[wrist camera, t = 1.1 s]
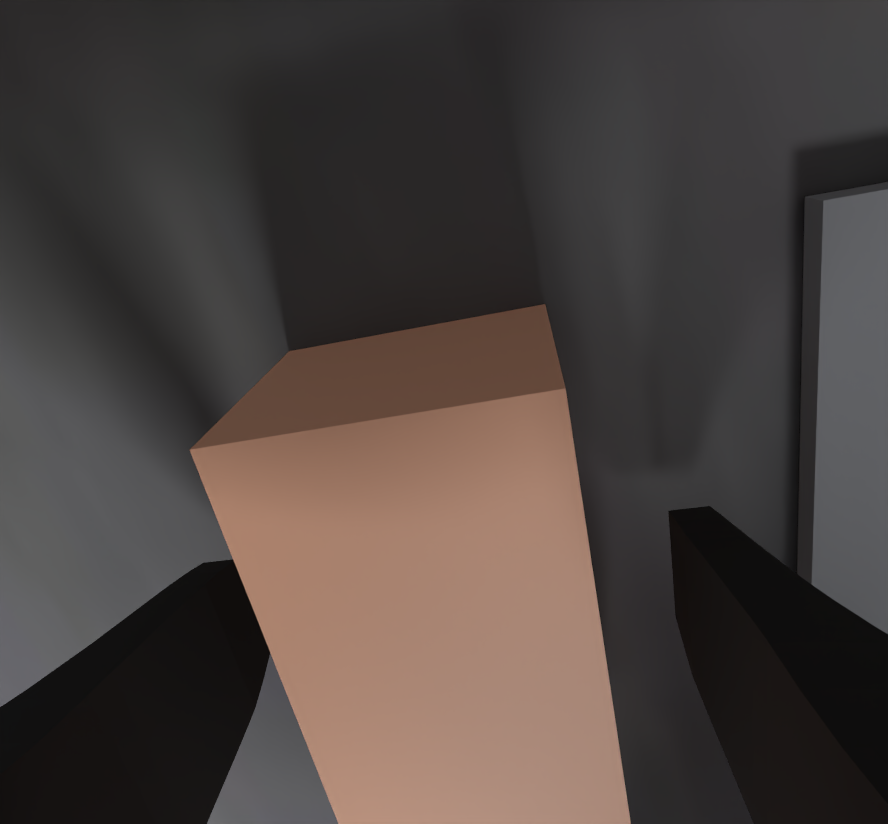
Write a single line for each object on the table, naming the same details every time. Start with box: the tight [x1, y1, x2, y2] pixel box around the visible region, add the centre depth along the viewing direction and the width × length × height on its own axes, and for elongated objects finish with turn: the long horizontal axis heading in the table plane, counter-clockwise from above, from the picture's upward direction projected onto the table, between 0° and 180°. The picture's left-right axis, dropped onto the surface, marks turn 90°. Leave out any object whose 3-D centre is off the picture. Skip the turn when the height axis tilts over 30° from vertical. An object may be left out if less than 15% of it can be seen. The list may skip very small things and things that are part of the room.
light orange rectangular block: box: [190, 304, 631, 824], centre depth 11 cm, size 8×4×4 cm, turn 12°
